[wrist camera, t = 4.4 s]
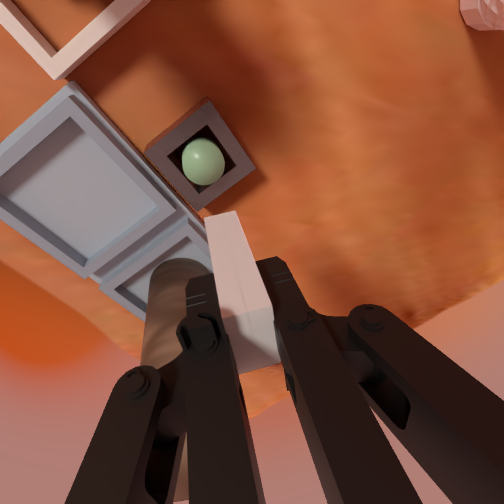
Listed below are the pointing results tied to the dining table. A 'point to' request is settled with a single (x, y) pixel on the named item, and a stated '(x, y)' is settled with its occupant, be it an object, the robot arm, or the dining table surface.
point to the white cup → (483, 14)
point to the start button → (202, 160)
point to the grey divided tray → (94, 199)
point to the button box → (183, 131)
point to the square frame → (80, 46)
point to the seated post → (169, 329)
